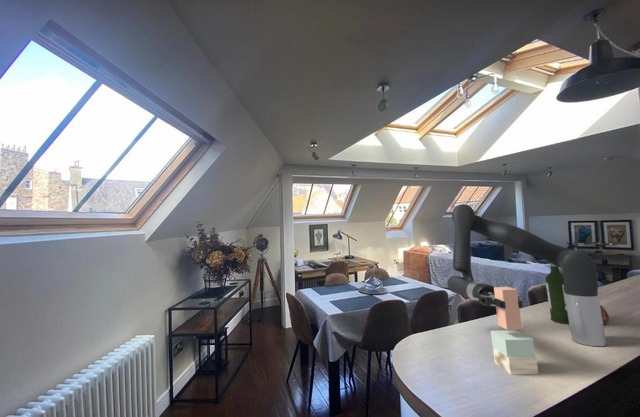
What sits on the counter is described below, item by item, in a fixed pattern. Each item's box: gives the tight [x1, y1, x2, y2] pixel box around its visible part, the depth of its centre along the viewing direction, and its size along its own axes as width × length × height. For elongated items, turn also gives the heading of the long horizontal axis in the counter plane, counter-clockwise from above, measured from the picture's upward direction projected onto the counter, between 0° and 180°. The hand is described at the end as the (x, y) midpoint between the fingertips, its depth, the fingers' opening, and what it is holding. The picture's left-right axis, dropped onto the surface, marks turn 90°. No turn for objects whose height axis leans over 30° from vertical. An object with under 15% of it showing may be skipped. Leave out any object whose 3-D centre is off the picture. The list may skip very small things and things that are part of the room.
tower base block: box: [492, 346, 539, 376], centre depth 84 cm, size 8×8×5 cm
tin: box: [600, 304, 610, 325], centre depth 120 cm, size 15×3×8 cm, turn 168°
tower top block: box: [490, 329, 536, 357], centre depth 84 cm, size 8×8×5 cm
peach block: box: [493, 286, 523, 330], centre depth 85 cm, size 4×4×12 cm
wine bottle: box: [545, 262, 569, 325], centre depth 123 cm, size 8×8×30 cm
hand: (512, 304), depth 83 cm, fingers closed on peach block, 4 cm apart
